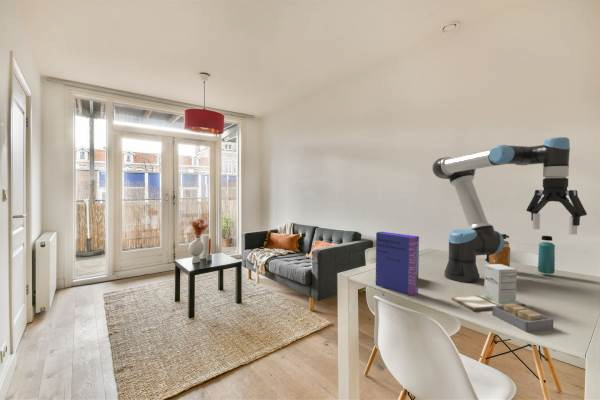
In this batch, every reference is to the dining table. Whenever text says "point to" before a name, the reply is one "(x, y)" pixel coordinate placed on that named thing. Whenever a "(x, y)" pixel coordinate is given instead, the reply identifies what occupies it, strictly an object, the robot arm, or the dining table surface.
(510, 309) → the oak block
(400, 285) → the cereal box
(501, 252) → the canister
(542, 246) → the beverage bottle
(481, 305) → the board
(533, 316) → the oak block
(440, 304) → the dining table surface
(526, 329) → the grey tray
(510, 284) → the supplement box
